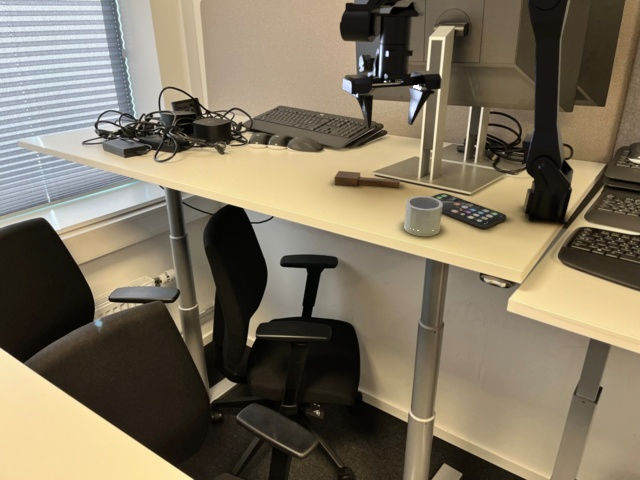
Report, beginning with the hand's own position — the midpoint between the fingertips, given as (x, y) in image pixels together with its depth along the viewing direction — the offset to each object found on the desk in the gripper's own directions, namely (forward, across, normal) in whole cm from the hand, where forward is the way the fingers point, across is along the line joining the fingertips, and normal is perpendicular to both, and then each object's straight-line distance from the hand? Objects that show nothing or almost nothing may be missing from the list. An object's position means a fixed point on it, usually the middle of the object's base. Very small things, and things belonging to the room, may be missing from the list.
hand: (389, 126), depth 95 cm
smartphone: (+13, -9, +16) cm, 23 cm away
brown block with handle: (+13, +3, -3) cm, 14 cm away
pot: (+13, +2, +20) cm, 24 cm away
